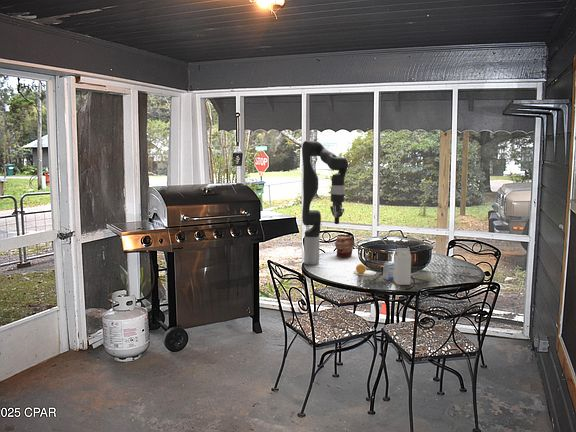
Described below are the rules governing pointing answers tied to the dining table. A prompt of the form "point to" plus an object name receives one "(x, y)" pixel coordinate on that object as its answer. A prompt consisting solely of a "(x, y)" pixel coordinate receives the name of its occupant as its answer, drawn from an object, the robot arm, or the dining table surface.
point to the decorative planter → (344, 245)
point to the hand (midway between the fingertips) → (336, 223)
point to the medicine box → (388, 271)
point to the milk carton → (402, 266)
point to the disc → (366, 273)
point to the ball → (360, 268)
